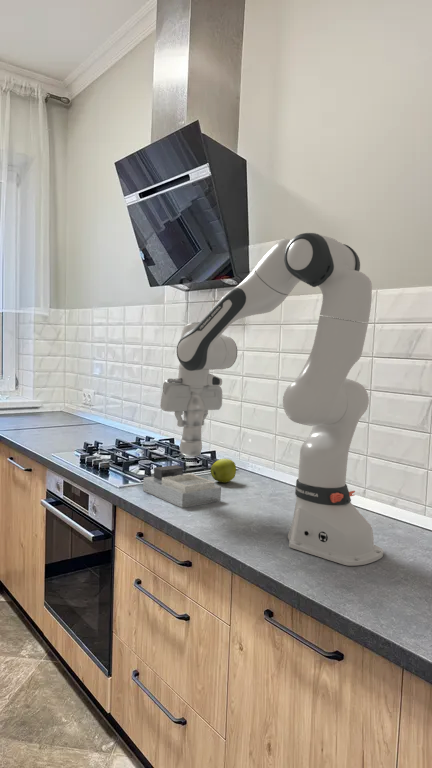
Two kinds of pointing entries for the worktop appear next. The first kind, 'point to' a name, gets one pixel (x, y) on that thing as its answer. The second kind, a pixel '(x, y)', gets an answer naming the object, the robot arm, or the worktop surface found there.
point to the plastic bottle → (193, 426)
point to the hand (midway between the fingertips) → (190, 425)
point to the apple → (223, 470)
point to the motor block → (181, 487)
